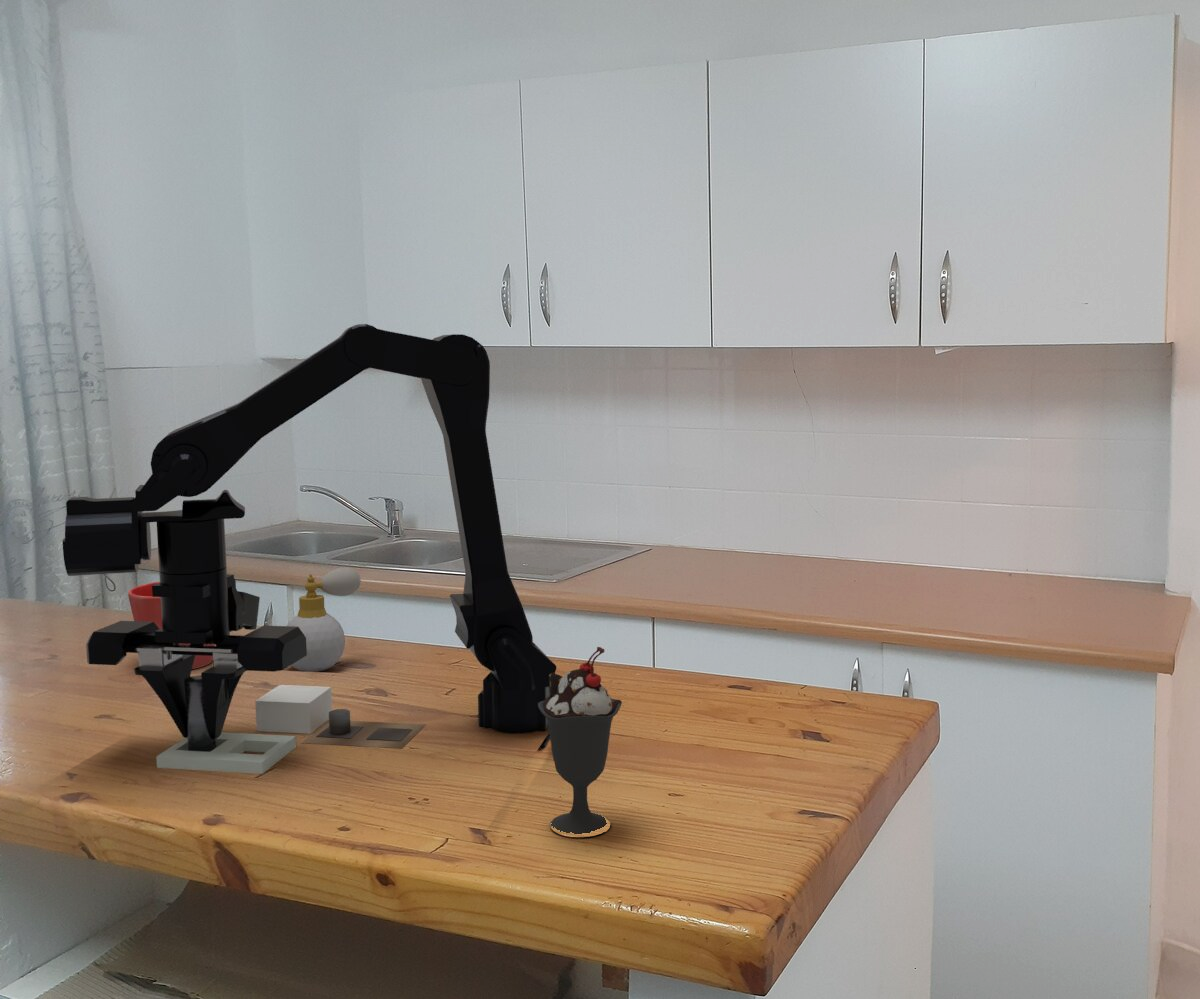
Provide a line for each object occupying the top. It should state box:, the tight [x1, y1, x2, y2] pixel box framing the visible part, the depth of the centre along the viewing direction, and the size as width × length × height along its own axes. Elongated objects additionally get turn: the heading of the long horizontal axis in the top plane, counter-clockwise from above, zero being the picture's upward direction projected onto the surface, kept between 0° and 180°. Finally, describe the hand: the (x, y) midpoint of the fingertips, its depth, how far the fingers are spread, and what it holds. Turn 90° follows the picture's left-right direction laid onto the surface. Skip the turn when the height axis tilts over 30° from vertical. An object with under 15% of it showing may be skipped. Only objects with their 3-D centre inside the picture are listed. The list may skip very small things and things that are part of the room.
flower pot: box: [127, 581, 216, 670], centre depth 143 cm, size 11×11×10 cm
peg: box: [184, 674, 216, 752], centre depth 106 cm, size 2×2×7 cm
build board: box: [155, 731, 297, 775], centre depth 106 cm, size 10×7×2 cm
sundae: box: [538, 646, 623, 834], centre depth 93 cm, size 7×7×15 cm
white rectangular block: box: [254, 684, 333, 735], centre depth 115 cm, size 6×6×4 cm
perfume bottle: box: [286, 566, 361, 673], centre depth 141 cm, size 8×10×12 cm
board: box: [300, 708, 427, 750], centre depth 112 cm, size 10×7×4 cm
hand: (202, 737), depth 106 cm, fingers closed on peg, 2 cm apart
